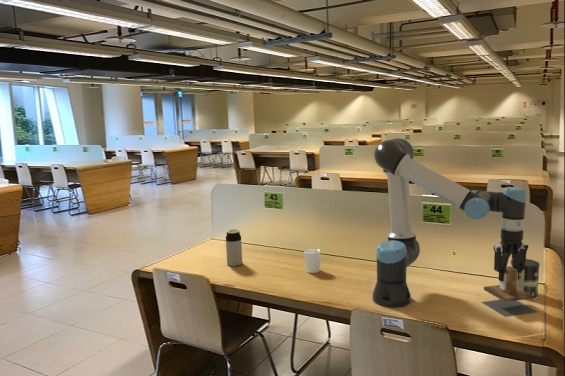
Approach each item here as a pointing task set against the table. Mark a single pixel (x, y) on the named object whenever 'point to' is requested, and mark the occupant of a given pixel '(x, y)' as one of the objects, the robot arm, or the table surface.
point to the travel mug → (233, 247)
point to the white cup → (312, 260)
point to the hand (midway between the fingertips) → (508, 288)
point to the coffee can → (529, 278)
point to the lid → (509, 288)
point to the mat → (509, 307)
